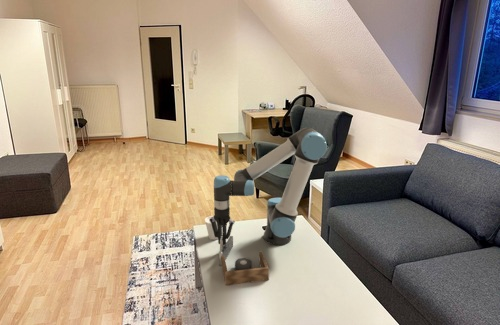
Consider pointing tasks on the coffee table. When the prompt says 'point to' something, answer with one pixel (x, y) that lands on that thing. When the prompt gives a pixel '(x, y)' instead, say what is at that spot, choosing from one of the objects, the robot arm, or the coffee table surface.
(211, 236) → the cup
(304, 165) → the robot arm
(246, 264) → the coil
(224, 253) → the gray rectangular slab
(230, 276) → the bay
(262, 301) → the coffee table surface
